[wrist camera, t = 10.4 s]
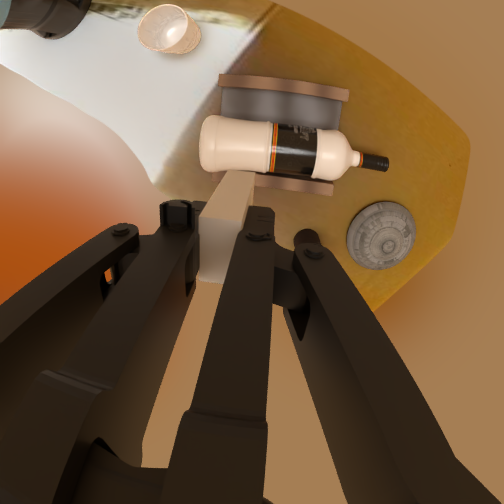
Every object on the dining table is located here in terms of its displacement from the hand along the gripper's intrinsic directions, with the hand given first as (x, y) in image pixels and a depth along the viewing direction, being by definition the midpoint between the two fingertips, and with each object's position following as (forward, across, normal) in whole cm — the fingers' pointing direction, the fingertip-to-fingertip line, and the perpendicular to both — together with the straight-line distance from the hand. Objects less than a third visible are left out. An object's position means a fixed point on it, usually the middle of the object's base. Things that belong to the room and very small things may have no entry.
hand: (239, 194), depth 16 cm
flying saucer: (+36, +25, -17) cm, 48 cm away
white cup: (+36, -16, +16) cm, 43 cm away
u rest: (+36, +2, 0) cm, 36 cm away
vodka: (+31, -9, -3) cm, 32 cm away
